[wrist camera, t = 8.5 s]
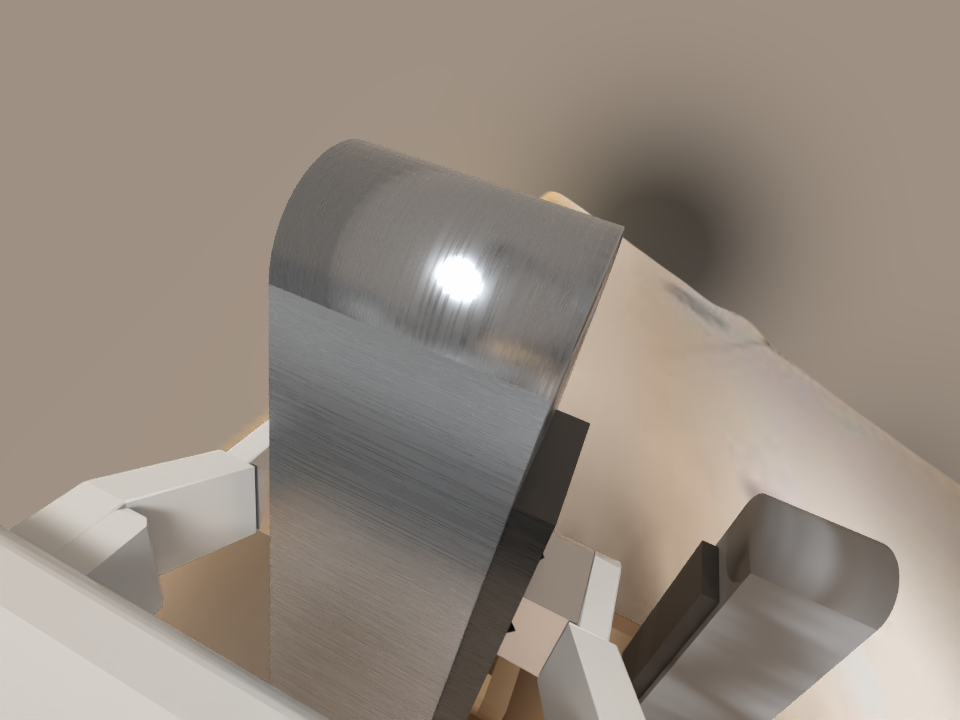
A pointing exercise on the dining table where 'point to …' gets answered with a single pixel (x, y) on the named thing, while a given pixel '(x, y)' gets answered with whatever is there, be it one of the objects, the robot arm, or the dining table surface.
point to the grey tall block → (416, 423)
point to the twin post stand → (739, 622)
